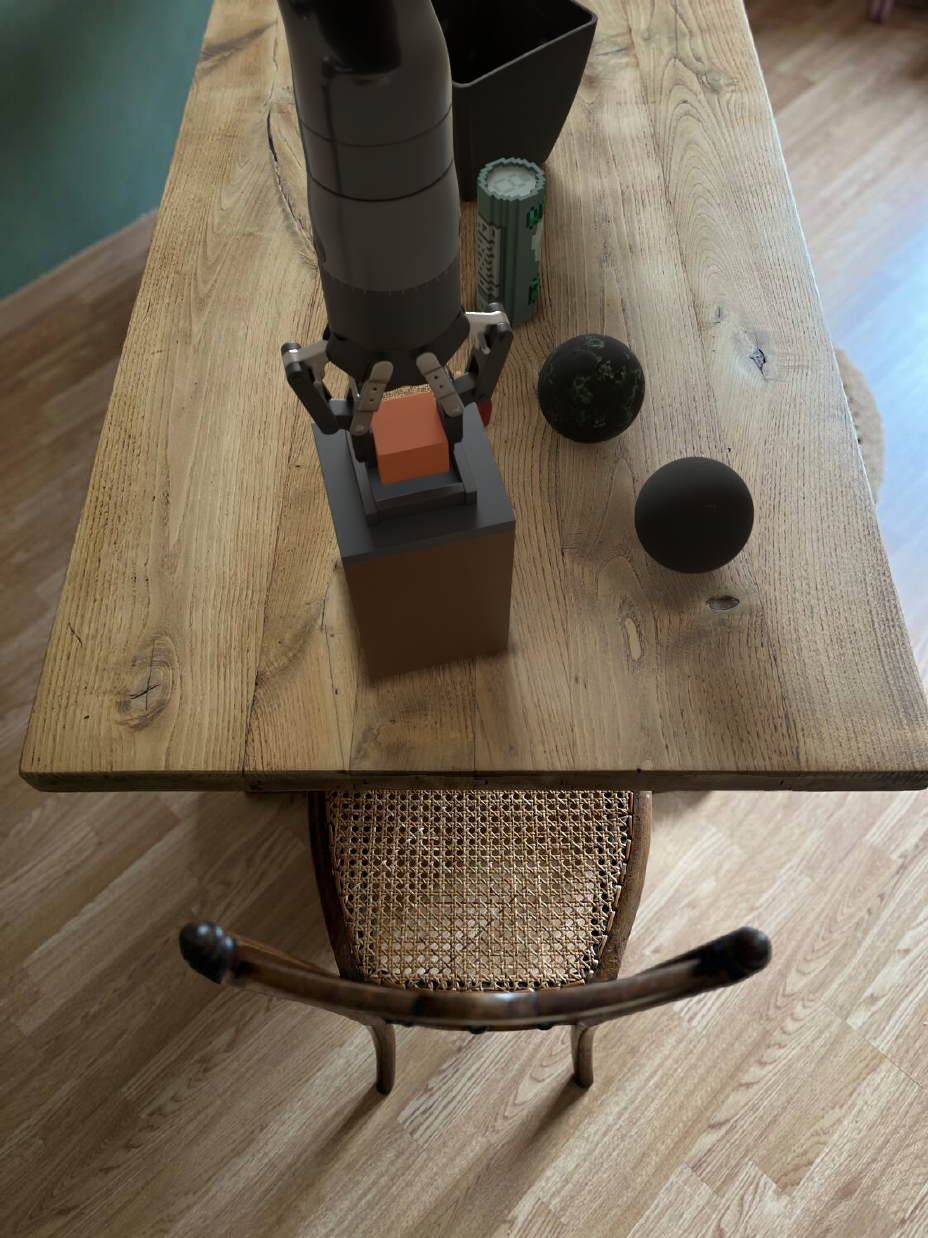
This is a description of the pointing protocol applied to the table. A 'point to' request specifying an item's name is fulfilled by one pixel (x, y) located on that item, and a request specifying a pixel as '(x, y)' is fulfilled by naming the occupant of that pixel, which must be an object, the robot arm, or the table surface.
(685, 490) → the black ball
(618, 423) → the decorative stone
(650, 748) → the table surface
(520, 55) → the flower pot
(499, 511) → the brown holder box
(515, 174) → the can
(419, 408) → the block
